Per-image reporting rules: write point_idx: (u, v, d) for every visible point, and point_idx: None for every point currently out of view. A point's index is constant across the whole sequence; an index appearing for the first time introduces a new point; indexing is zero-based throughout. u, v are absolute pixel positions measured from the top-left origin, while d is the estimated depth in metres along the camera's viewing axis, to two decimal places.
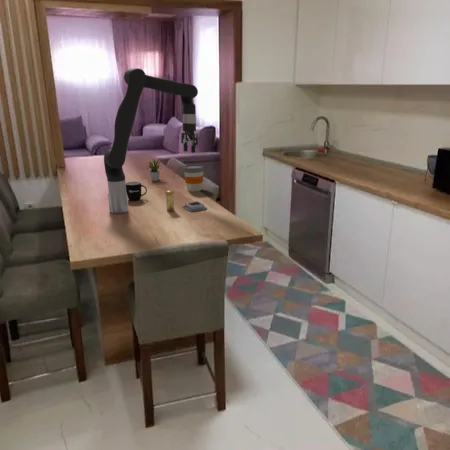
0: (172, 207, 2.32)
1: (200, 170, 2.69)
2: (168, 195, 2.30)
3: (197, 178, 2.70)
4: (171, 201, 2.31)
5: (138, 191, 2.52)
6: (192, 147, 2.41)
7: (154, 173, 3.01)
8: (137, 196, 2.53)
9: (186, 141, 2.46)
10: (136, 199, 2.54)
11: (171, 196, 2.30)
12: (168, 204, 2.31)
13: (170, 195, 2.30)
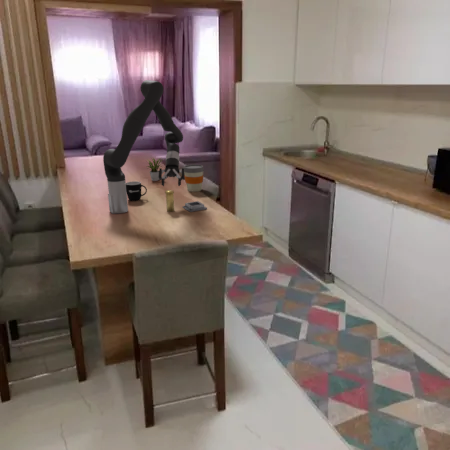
0: (172, 207, 2.32)
1: (200, 170, 2.69)
2: (168, 195, 2.30)
3: (197, 178, 2.70)
4: (171, 201, 2.31)
5: (138, 191, 2.52)
6: (179, 180, 2.38)
7: (154, 173, 3.01)
8: (137, 196, 2.53)
9: (166, 176, 2.40)
10: (136, 199, 2.54)
11: (171, 196, 2.30)
12: (168, 204, 2.31)
13: (170, 195, 2.30)
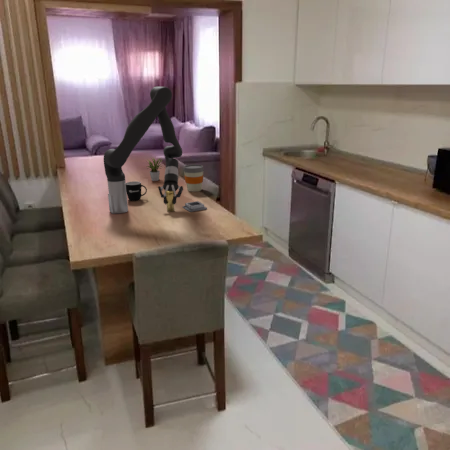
0: (172, 207, 2.32)
1: (200, 170, 2.69)
2: (168, 195, 2.30)
3: (197, 178, 2.70)
4: (171, 201, 2.31)
5: (138, 191, 2.52)
6: (174, 198, 2.32)
7: (154, 173, 3.01)
8: (137, 196, 2.53)
9: None
10: (136, 199, 2.54)
11: (171, 196, 2.30)
12: (168, 204, 2.31)
13: (170, 195, 2.30)
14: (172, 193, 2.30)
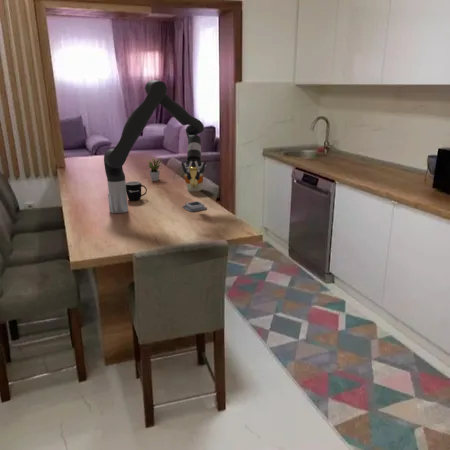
0: (196, 183, 2.32)
1: None
2: (192, 171, 2.29)
3: None
4: (195, 177, 2.31)
5: (138, 191, 2.52)
6: (198, 174, 2.31)
7: (154, 173, 3.01)
8: (137, 196, 2.53)
9: None
10: (136, 199, 2.54)
11: (195, 172, 2.30)
12: (192, 180, 2.31)
13: (193, 171, 2.29)
14: (196, 169, 2.30)
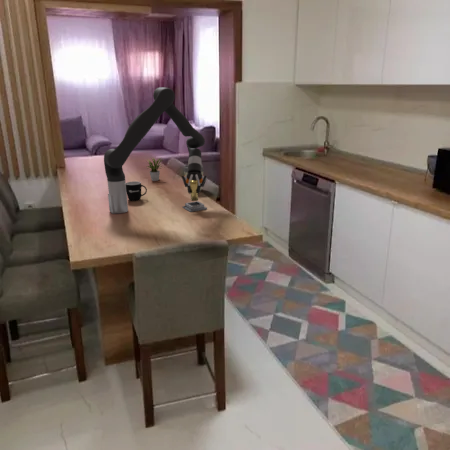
0: (196, 196, 2.34)
1: None
2: (192, 184, 2.32)
3: None
4: (195, 190, 2.33)
5: (138, 191, 2.52)
6: (199, 187, 2.34)
7: (154, 173, 3.01)
8: (137, 196, 2.53)
9: None
10: (136, 199, 2.54)
11: (195, 185, 2.32)
12: (192, 193, 2.33)
13: (194, 184, 2.32)
14: (196, 182, 2.32)
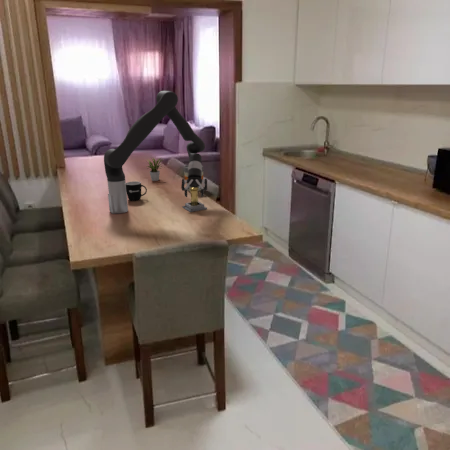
0: (196, 203, 2.36)
1: None
2: (193, 191, 2.33)
3: None
4: (195, 197, 2.34)
5: (138, 191, 2.52)
6: (202, 191, 2.35)
7: (154, 173, 3.01)
8: (137, 196, 2.53)
9: (189, 187, 2.37)
10: (136, 199, 2.54)
11: (195, 192, 2.33)
12: (192, 200, 2.35)
13: (194, 191, 2.33)
14: (196, 189, 2.33)
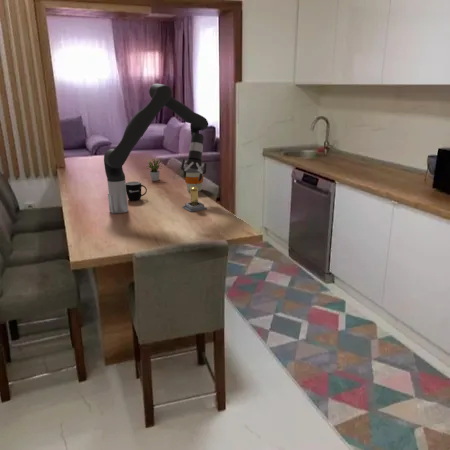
0: (196, 203, 2.36)
1: None
2: (193, 191, 2.33)
3: (197, 178, 2.70)
4: (195, 197, 2.34)
5: (138, 191, 2.52)
6: (201, 175, 2.47)
7: (154, 173, 3.01)
8: (137, 196, 2.53)
9: (188, 168, 2.46)
10: (136, 199, 2.54)
11: (196, 192, 2.33)
12: (192, 200, 2.35)
13: (194, 191, 2.33)
14: (196, 189, 2.33)
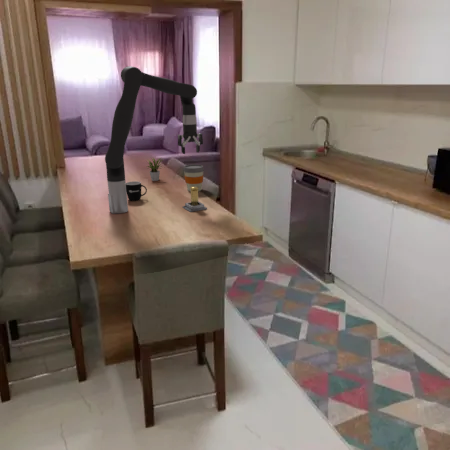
0: (196, 203, 2.36)
1: (200, 170, 2.69)
2: (193, 191, 2.33)
3: (197, 178, 2.70)
4: (196, 197, 2.34)
5: (138, 191, 2.52)
6: (198, 147, 2.42)
7: (154, 173, 3.01)
8: (137, 196, 2.53)
9: None
10: (136, 199, 2.54)
11: (196, 192, 2.34)
12: (193, 200, 2.35)
13: (194, 191, 2.33)
14: (197, 189, 2.34)
